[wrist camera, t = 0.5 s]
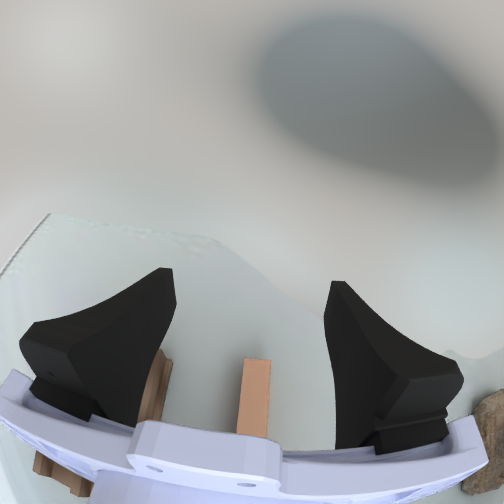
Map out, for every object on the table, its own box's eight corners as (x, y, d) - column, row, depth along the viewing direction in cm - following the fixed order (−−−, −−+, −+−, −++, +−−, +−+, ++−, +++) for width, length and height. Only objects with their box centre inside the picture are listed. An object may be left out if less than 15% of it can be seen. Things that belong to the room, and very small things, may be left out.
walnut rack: (144, 515, 15) (132, 519, 13) (46, 472, 15) (29, 468, 13) (173, 363, 28) (166, 350, 26) (84, 343, 28) (72, 329, 26)
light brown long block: (259, 482, 19) (262, 483, 16) (232, 480, 19) (230, 481, 16) (267, 374, 28) (271, 360, 25) (244, 373, 28) (244, 358, 25)
